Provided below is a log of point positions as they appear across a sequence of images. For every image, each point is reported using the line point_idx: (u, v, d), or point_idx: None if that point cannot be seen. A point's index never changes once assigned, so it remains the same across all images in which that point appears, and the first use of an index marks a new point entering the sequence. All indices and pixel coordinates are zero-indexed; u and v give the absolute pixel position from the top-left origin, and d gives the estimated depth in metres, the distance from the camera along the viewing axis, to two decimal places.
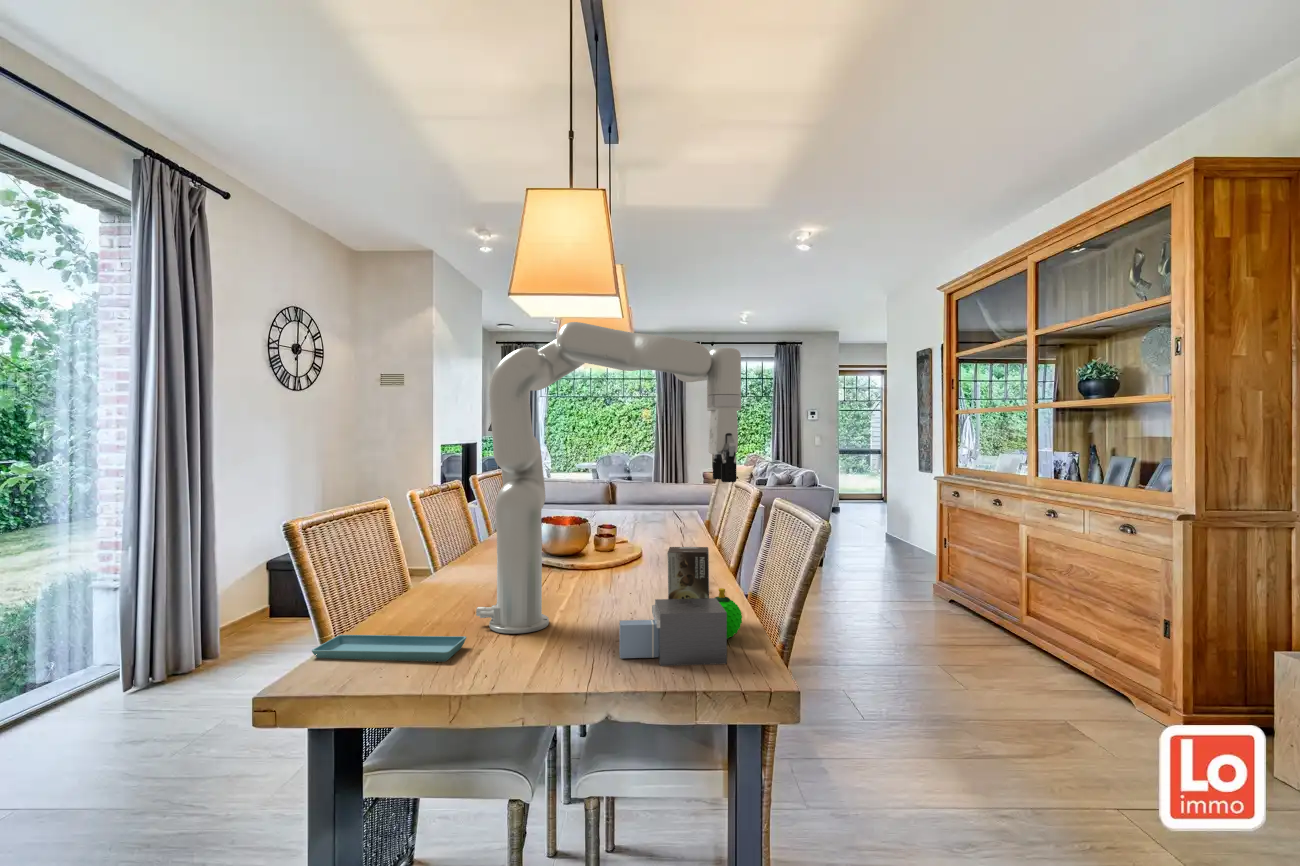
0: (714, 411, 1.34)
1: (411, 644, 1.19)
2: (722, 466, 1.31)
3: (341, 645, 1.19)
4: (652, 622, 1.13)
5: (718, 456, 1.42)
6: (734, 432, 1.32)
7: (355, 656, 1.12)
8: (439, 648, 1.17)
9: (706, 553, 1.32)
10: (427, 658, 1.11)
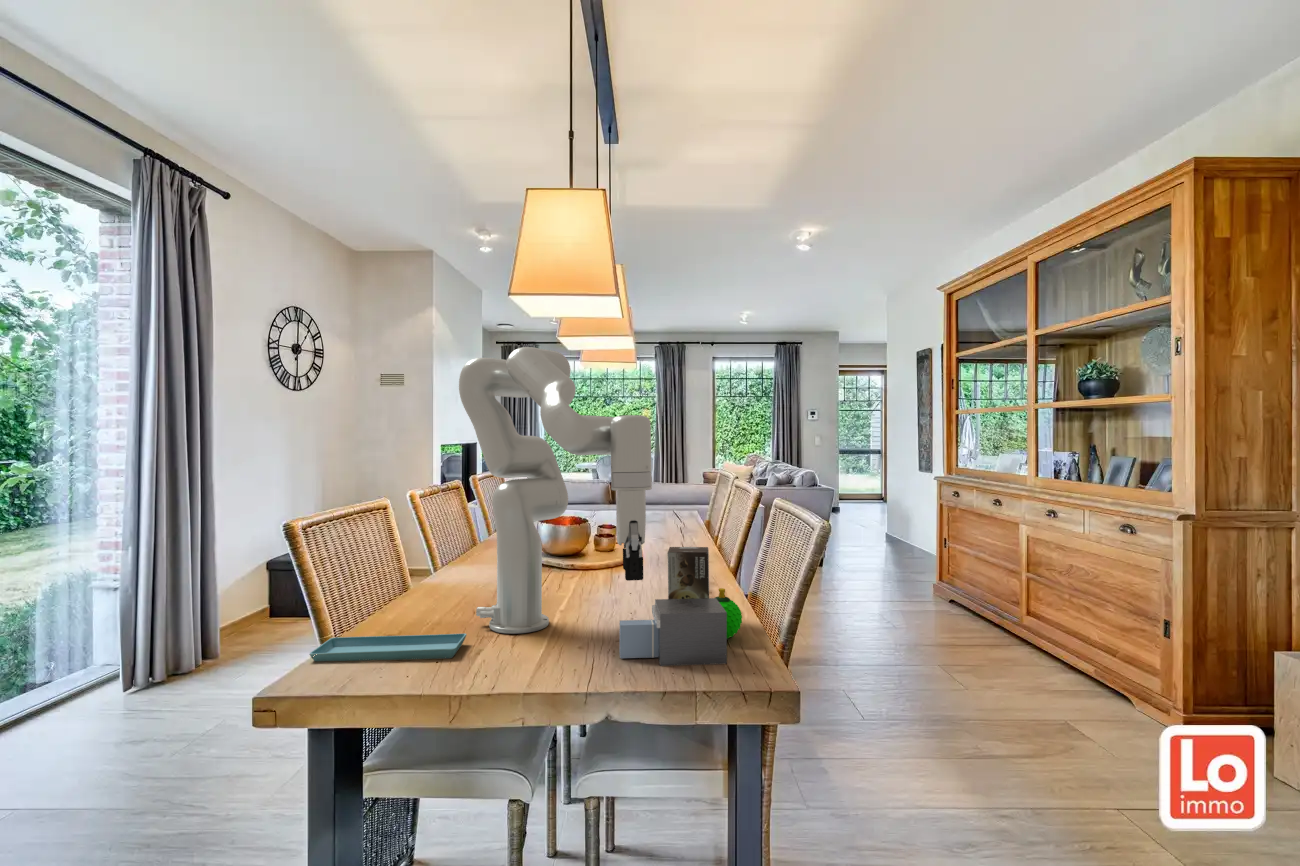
0: (618, 492, 1.11)
1: (409, 643, 1.19)
2: (626, 561, 1.08)
3: (335, 648, 1.18)
4: (652, 622, 1.13)
5: None
6: (640, 519, 1.09)
7: (357, 657, 1.11)
8: (440, 645, 1.18)
9: (706, 553, 1.32)
10: (433, 656, 1.12)
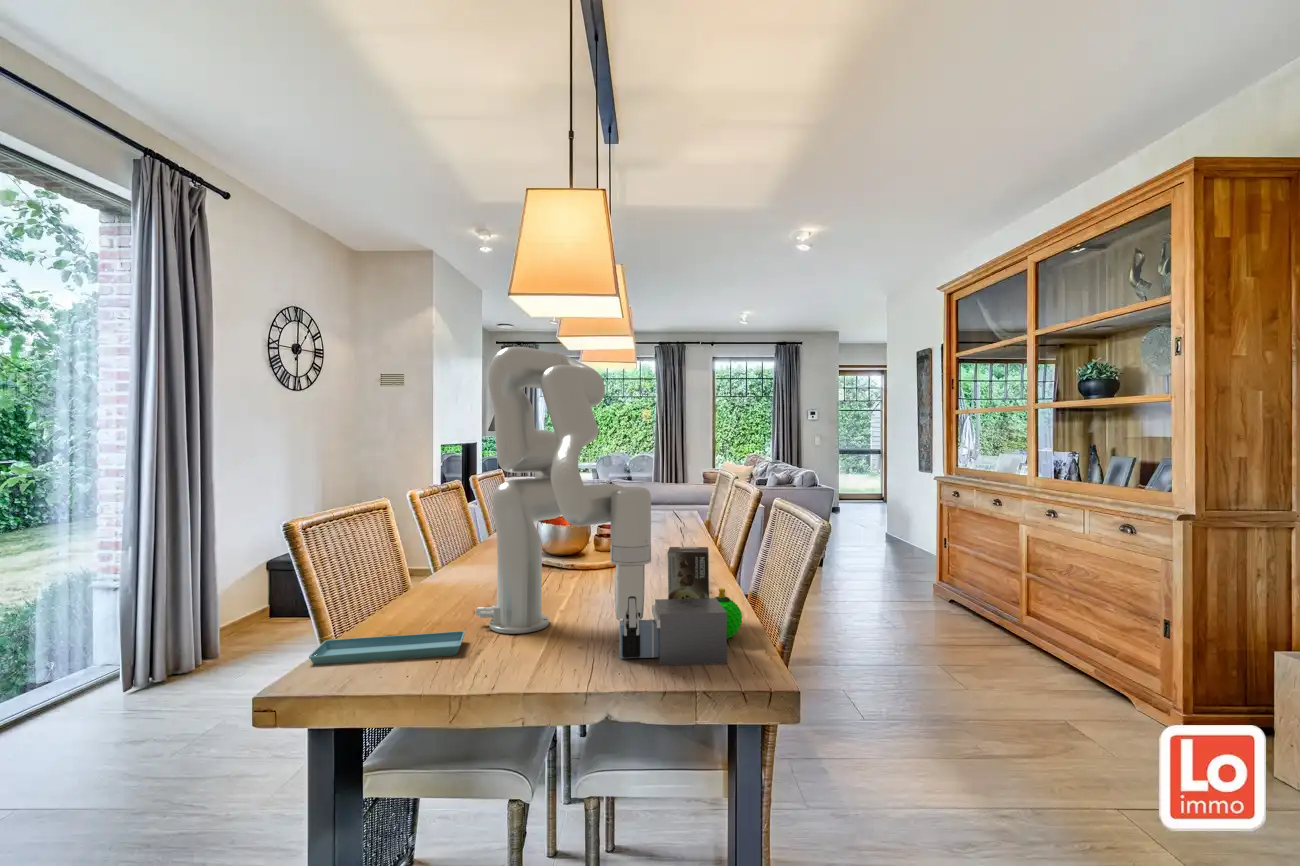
0: (617, 566, 1.11)
1: (407, 643, 1.20)
2: (623, 638, 1.11)
3: (330, 650, 1.16)
4: (652, 622, 1.13)
5: None
6: (639, 595, 1.09)
7: (359, 658, 1.11)
8: (440, 643, 1.19)
9: (706, 553, 1.32)
10: (437, 653, 1.13)
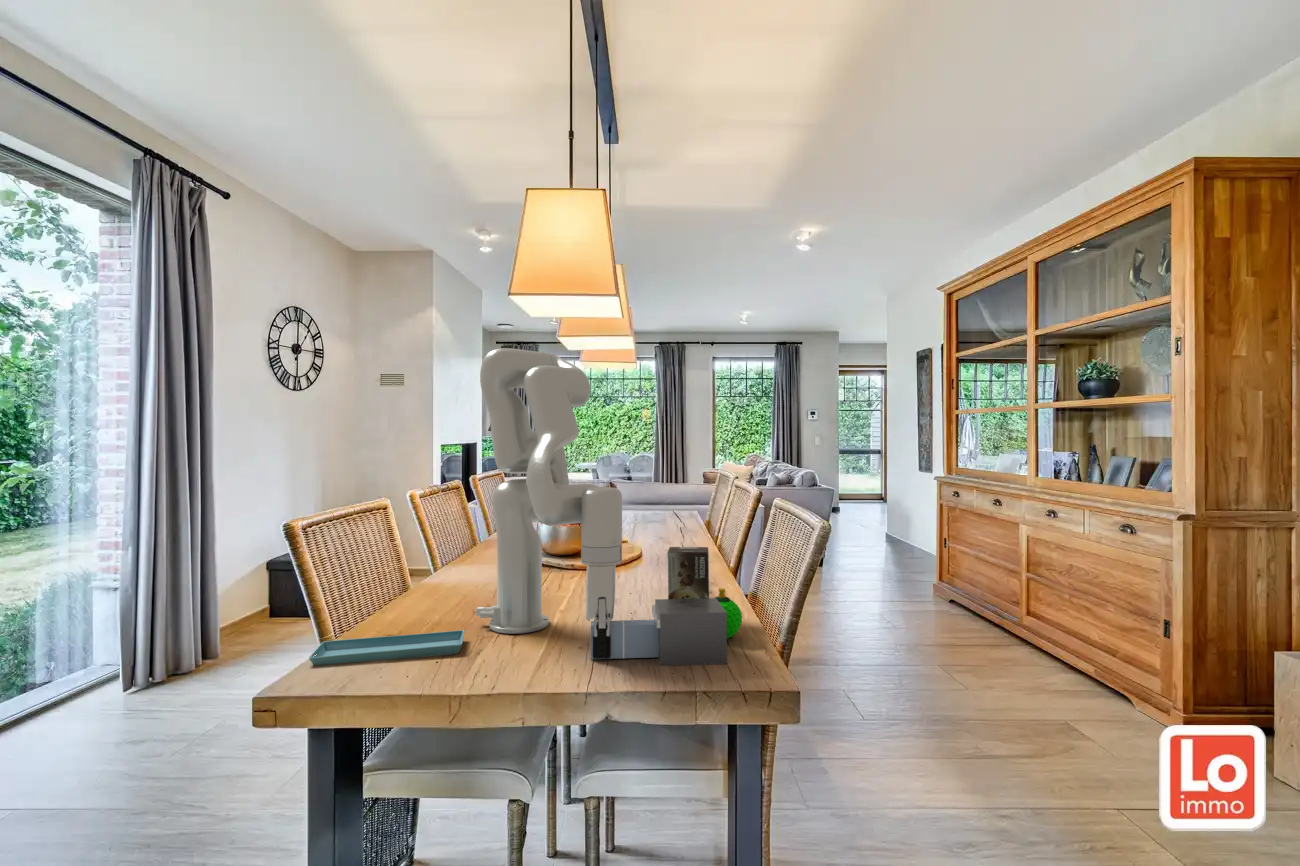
0: (587, 566, 1.11)
1: (406, 643, 1.20)
2: (593, 639, 1.11)
3: (328, 651, 1.16)
4: (623, 623, 1.13)
5: None
6: (608, 596, 1.08)
7: (360, 658, 1.11)
8: (440, 643, 1.20)
9: (706, 553, 1.32)
10: (439, 652, 1.14)
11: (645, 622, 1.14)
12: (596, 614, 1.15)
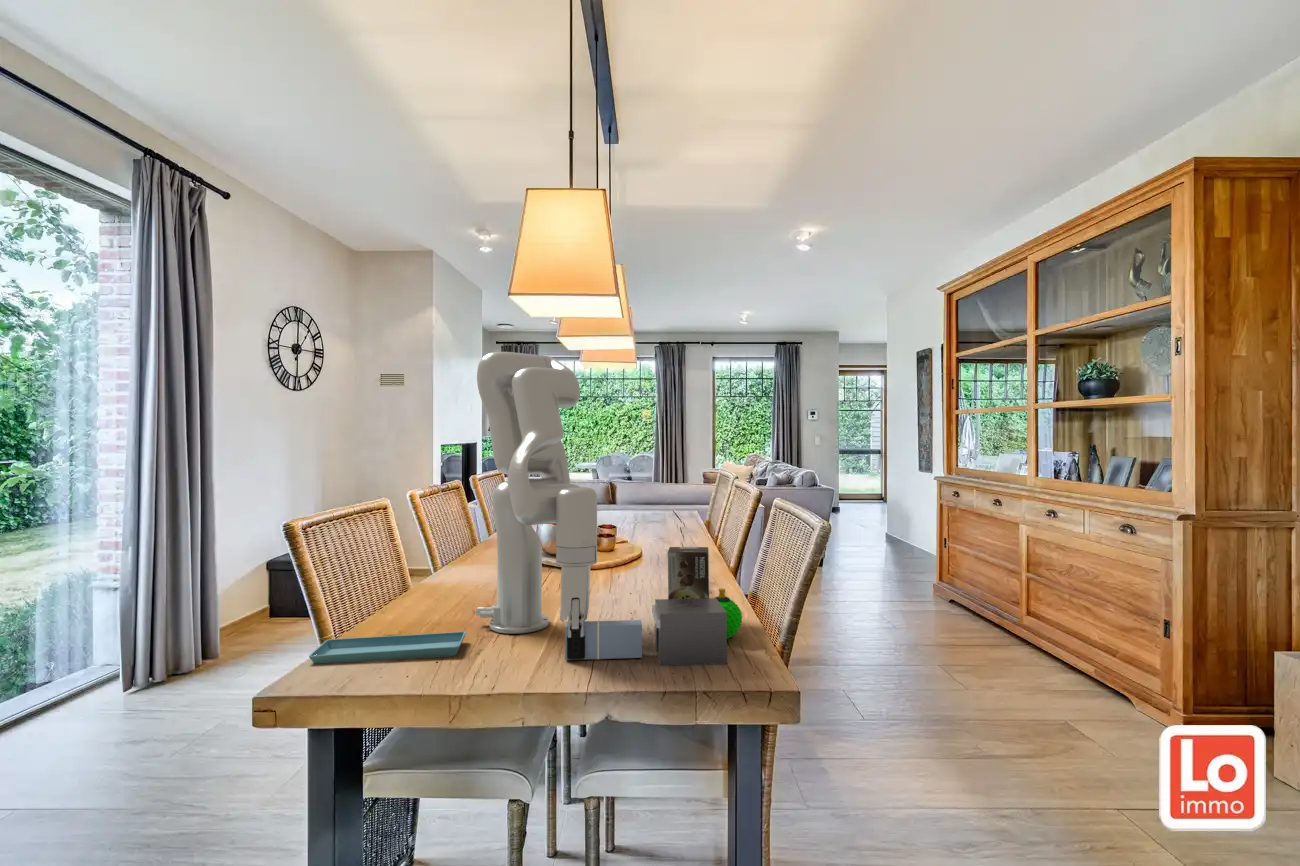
0: None
1: (408, 643, 1.20)
2: (568, 640, 1.10)
3: (331, 650, 1.17)
4: (598, 623, 1.13)
5: None
6: (582, 596, 1.08)
7: (358, 658, 1.11)
8: (440, 644, 1.19)
9: (706, 553, 1.32)
10: (436, 654, 1.13)
11: (621, 622, 1.13)
12: (571, 615, 1.14)
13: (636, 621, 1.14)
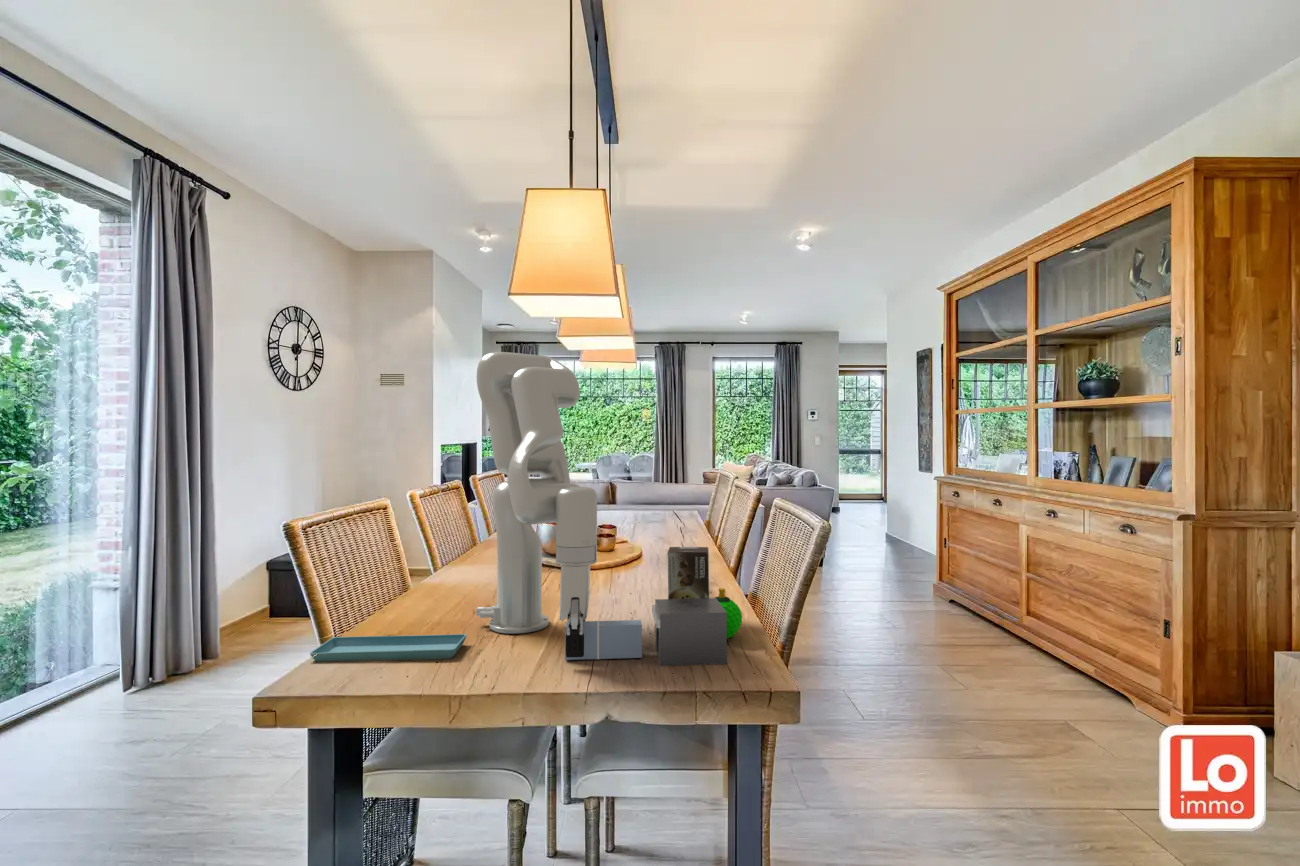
0: (561, 566, 1.10)
1: (410, 644, 1.19)
2: (566, 638, 1.07)
3: (336, 647, 1.18)
4: (598, 623, 1.13)
5: None
6: (582, 596, 1.08)
7: (357, 657, 1.11)
8: (440, 646, 1.18)
9: (706, 553, 1.32)
10: (432, 656, 1.12)
11: (621, 622, 1.13)
12: None
13: (636, 621, 1.14)
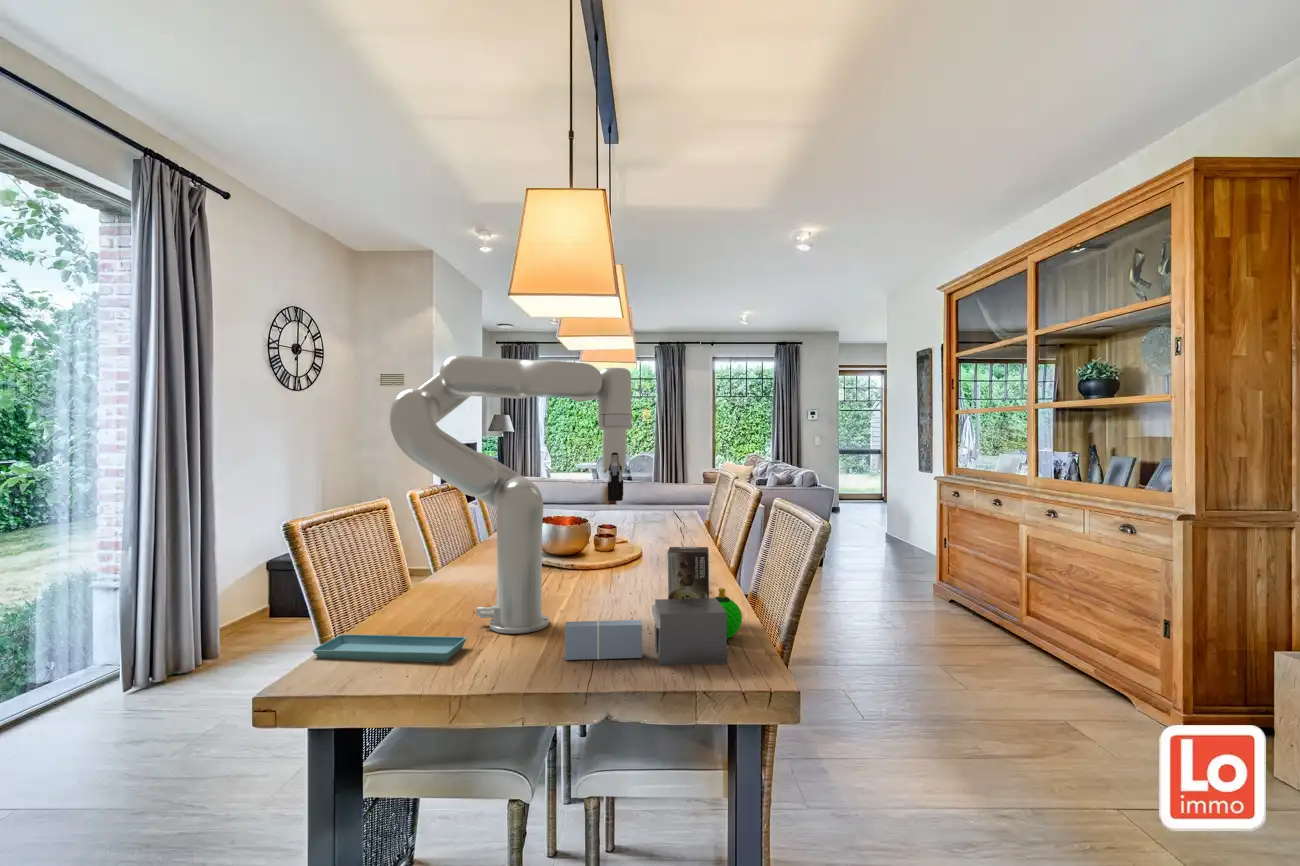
0: (603, 430, 1.36)
1: (412, 644, 1.19)
2: (608, 485, 1.33)
3: (342, 645, 1.19)
4: (598, 623, 1.13)
5: None
6: (620, 452, 1.33)
7: (355, 656, 1.12)
8: (440, 648, 1.17)
9: (706, 553, 1.32)
10: (426, 659, 1.10)
11: (621, 622, 1.13)
12: None
13: (636, 621, 1.14)
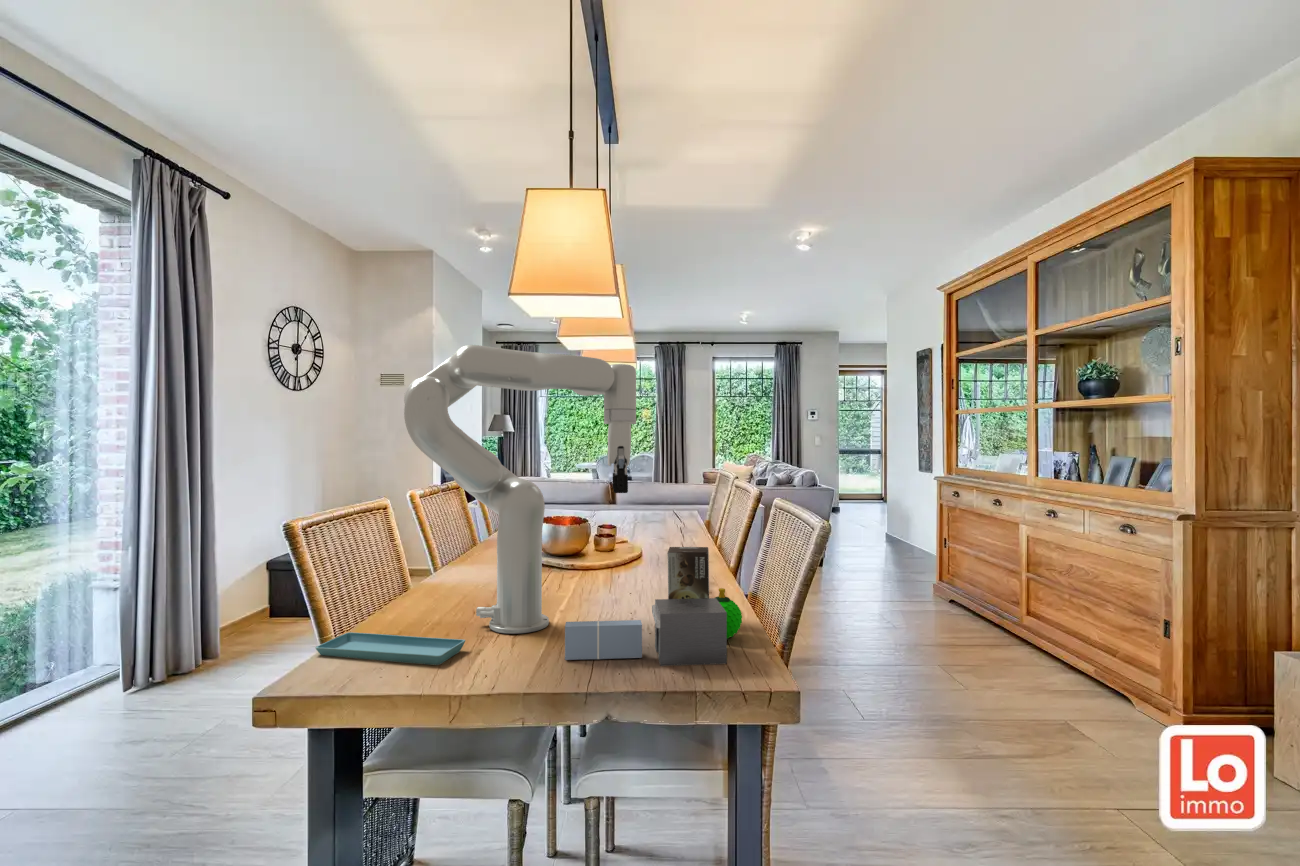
0: (609, 425, 1.40)
1: (413, 645, 1.18)
2: (614, 478, 1.37)
3: (348, 643, 1.21)
4: (598, 623, 1.13)
5: None
6: (626, 445, 1.38)
7: (354, 655, 1.12)
8: (438, 650, 1.16)
9: (706, 553, 1.32)
10: (421, 661, 1.09)
11: (621, 622, 1.13)
12: None
13: (636, 621, 1.14)
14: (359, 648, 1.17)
